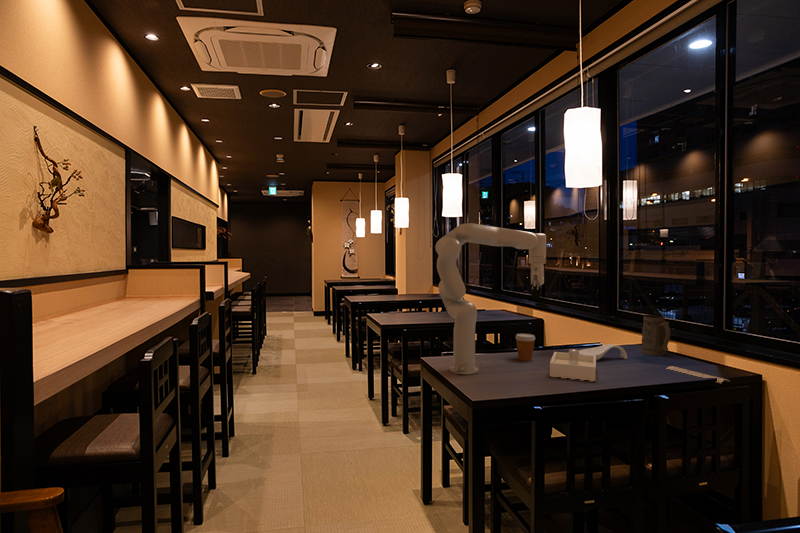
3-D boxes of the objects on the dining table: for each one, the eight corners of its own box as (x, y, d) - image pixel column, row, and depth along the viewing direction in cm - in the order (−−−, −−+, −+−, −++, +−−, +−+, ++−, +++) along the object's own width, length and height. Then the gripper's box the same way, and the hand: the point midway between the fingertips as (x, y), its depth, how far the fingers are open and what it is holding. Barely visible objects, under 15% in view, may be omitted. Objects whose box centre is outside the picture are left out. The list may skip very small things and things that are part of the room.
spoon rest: (585, 362, 221) (585, 348, 221) (573, 356, 233) (573, 342, 233) (631, 361, 224) (632, 346, 224) (617, 355, 236) (618, 341, 235)
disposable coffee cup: (537, 362, 221) (537, 337, 221) (517, 361, 222) (517, 337, 221) (532, 357, 231) (532, 333, 230) (513, 357, 231) (513, 333, 231)
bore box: (595, 381, 190) (595, 367, 190) (549, 376, 197) (549, 362, 197) (595, 368, 210) (595, 355, 210) (554, 364, 217) (554, 351, 217)
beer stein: (635, 351, 242) (638, 314, 240) (649, 349, 247) (652, 313, 245) (662, 360, 229) (666, 321, 226) (676, 358, 233) (680, 319, 231)
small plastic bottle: (577, 374, 201) (578, 351, 200) (568, 373, 202) (568, 350, 202) (578, 371, 205) (578, 349, 204) (568, 370, 206) (569, 348, 206)
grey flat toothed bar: (666, 370, 209) (666, 367, 209) (676, 369, 212) (676, 365, 212) (721, 385, 188) (721, 380, 188) (731, 382, 191) (731, 378, 191)
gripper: (543, 260, 203) (542, 299, 204) (547, 259, 219) (546, 295, 219) (526, 260, 206) (525, 298, 207) (531, 259, 222) (530, 294, 222)
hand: (536, 297), depth 213 cm, fingers open, 9 cm apart
